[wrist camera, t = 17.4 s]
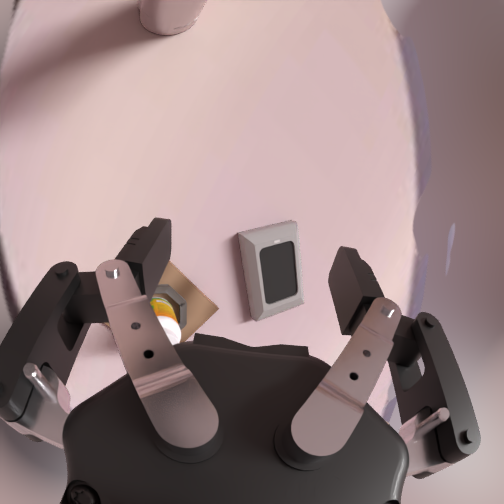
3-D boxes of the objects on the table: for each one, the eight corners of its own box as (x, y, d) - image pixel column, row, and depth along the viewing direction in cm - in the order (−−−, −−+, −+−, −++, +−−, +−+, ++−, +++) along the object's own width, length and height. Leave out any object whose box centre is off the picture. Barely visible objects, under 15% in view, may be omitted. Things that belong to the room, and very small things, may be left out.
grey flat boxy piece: (258, 325, 44) (245, 236, 39) (250, 315, 47) (236, 232, 43) (307, 306, 47) (301, 223, 43) (296, 298, 51) (289, 219, 46)
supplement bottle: (148, 289, 38) (154, 321, 29) (179, 305, 40) (193, 339, 32) (132, 318, 37) (134, 355, 29) (162, 333, 40) (172, 370, 31)
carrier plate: (94, 311, 36) (92, 317, 34) (155, 246, 38) (156, 249, 36) (159, 361, 42) (160, 368, 40) (217, 306, 44) (220, 311, 42)
